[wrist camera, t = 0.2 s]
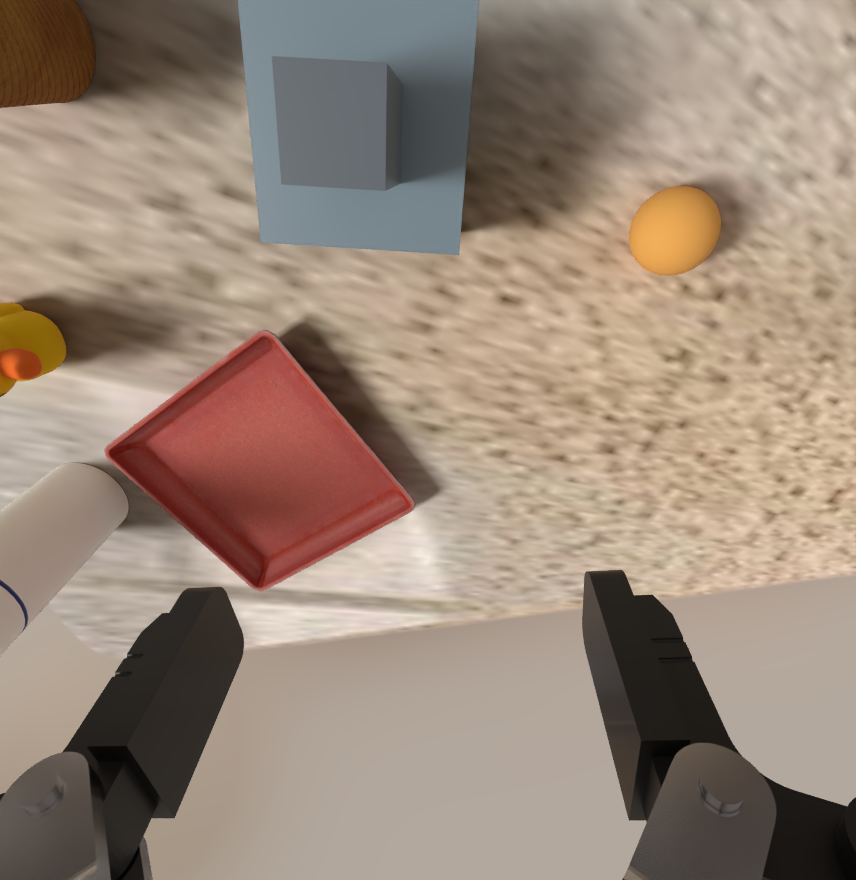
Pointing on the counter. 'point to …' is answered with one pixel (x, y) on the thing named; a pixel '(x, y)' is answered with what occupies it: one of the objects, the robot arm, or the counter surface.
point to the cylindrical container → (52, 539)
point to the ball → (675, 230)
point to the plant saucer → (260, 465)
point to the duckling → (27, 345)
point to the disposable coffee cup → (44, 52)
